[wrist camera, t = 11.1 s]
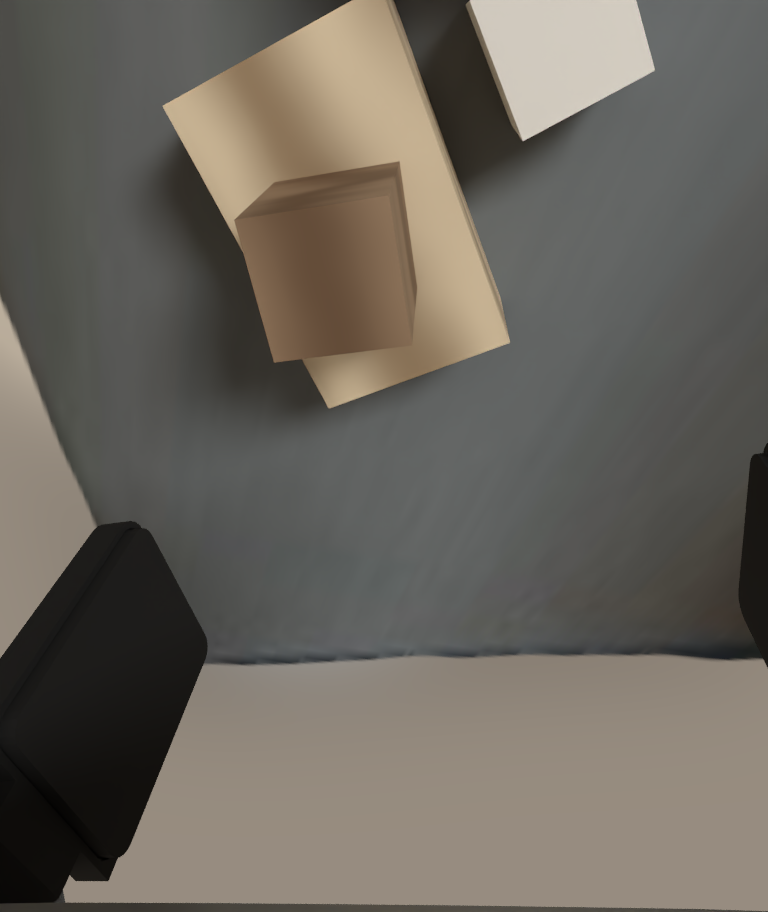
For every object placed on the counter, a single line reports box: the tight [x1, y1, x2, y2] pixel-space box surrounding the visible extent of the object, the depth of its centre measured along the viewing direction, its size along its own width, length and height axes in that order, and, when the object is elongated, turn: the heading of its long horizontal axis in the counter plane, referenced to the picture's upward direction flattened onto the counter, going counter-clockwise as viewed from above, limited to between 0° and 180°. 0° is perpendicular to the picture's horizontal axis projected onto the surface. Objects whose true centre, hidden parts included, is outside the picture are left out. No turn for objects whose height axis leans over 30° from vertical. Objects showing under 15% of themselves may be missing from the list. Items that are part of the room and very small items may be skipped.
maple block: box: [163, 0, 510, 408], centre depth 29 cm, size 9×14×6 cm, turn 24°
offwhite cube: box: [465, 0, 655, 141], centre depth 25 cm, size 5×5×5 cm
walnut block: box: [234, 161, 417, 363], centre depth 24 cm, size 5×5×6 cm
